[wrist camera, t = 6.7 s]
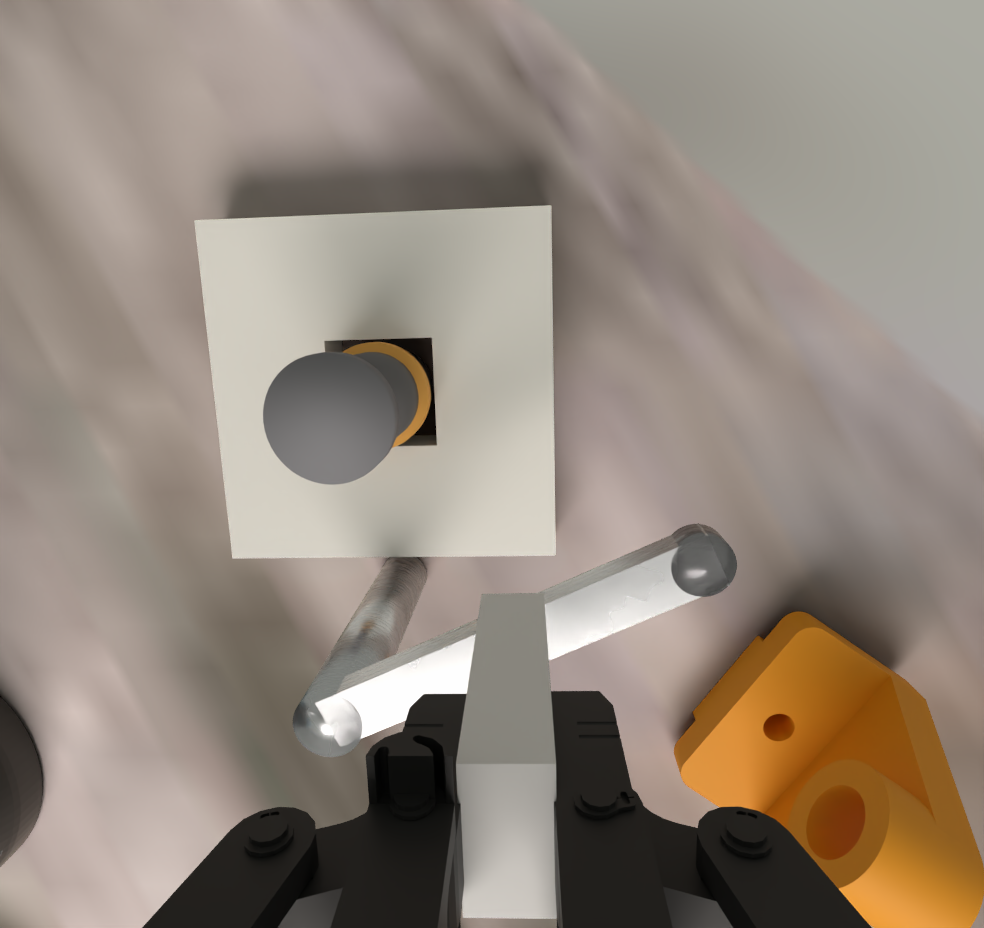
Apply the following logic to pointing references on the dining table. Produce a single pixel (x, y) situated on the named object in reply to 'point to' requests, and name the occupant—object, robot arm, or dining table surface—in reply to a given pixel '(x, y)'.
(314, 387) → the plug
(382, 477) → the socket block
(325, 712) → the handle
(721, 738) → the bracket
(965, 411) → the dining table surface
